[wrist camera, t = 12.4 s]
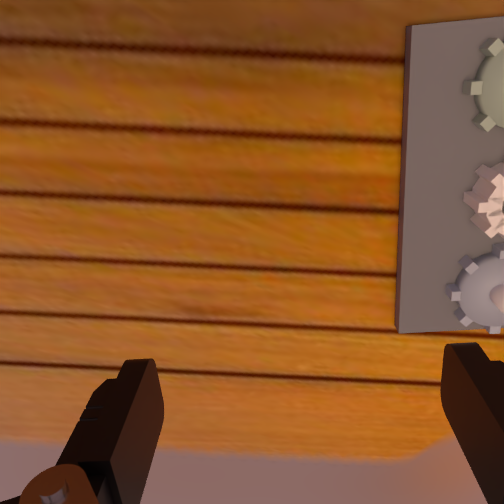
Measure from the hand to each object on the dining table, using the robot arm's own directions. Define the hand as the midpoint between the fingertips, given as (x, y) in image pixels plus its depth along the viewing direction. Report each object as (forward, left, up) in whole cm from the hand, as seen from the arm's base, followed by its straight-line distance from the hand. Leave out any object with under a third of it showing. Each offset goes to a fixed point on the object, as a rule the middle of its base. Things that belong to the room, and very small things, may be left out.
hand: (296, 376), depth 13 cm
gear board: (+4, +18, -28) cm, 34 cm away
